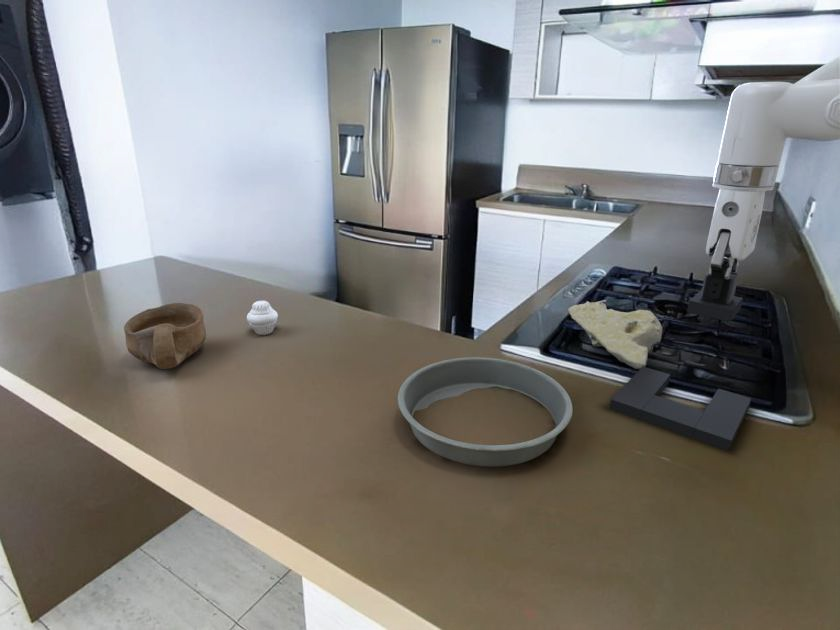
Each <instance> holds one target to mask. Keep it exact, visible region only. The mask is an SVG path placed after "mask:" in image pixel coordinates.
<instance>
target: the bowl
mask: <svg viewBox="0 0 840 630" xmlns="http://www.w3.org/2000/svg"><path fill="white" fill-rule="evenodd" d="M123 331H124V335H125V345H126V349H127V351H128V353H130V355H132V356H133V357H134V358H136V359H137V360H140V361H142V362H145V363H148V364H154V365H155V366H156V367H157V368H158V369H161V370H170V369H173V368H176V367H177V366H179V365H180V364H182V362H183V361H185V360H186V359H187V358H189V357H191V356H192V355H193V354H194V353H196V352H197V351H198V350H199V349H200V348H201V347H202V346H203V345H204V343H205V341H206V338H207V330H206V325H205V321H204V313H203V311H202V309H201V308H200V307H199V306H197V305H195V304H189V303H185V302H173V303H166V304H163V305H160V306H158V307H157V306H156V307H153V308H152V307H151V308H147V309H145V310H143V311H141V312H139V313H137V314H135V315H133V316H132V317H130V318H129V319H128V320H127V321H126V323H125V324H124V326H123Z"/></svg>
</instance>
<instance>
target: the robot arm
mask: <svg viewBox="0 0 840 630" xmlns="http://www.w3.org/2000/svg"><path fill="white" fill-rule="evenodd" d="M788 138H789V139H797V140H798V139H799V140H807V141H814V142H815V141H816V142H832V141H839V140H840V55H838V56H836V57H835V58H833V59H832V60H829V61H828V62H827V63H825V64H823V65H822V66H820V67H819V68H817V69H815V70H813V71H812V72H810V73H808V74H807V75H805V76H804V77H802V78H800V79H799V80H798V81H796V82H794V83H793V82H792V83H791V82H787V81H758V82H756V81H755V82H746V83H742V84H739V85H738V86H736V87H735V89H734V90H733V91H732V92H731V95H730V99H729V103H728V109H727V113H726V118H725V123H724V128H723V132H722V137H721V142H720V148H719V152H718V157H717V162H716V165H715V171H714V176H713V180H712V181H713V183H712V187H713V188H716V189H719V191H718V194H717V198H716V202H715V205H714V209H713V212H712V213H713V214H712V218H711V222H710V226H709V231H708V234H707V235H708V236H707V240H706V247H705V254H706V255H707V256H708V257H709V258H711V259H710V263H709V267H708V271H707V273H708V275H707V278H706V282H705V287H704V292H703V296H702V300H703V301H707V302H712V303H717V304H722V305H723V304H725V303H726V300H727V296H728V292H729V288H730V283H731V279H729V277H730V274H736V275H738V273H737V272H738V269H739V265H740V262H742V261H744V260H746V259H747V258H748V257H749V256H750V255H751V254H752V253H753V252H754V250H755V247H756V244H757V238H758V233H759V228H760V223H761V218H762V214H763V209H764V203H765V197H766V192H769V191H770V192H772V191H773V190H774V188H775V184H776V180H777V176H778V173H779V168H780V164H781V161H782V156H783V152H784V148H785V145H786V140H787V139H788Z"/></svg>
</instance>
